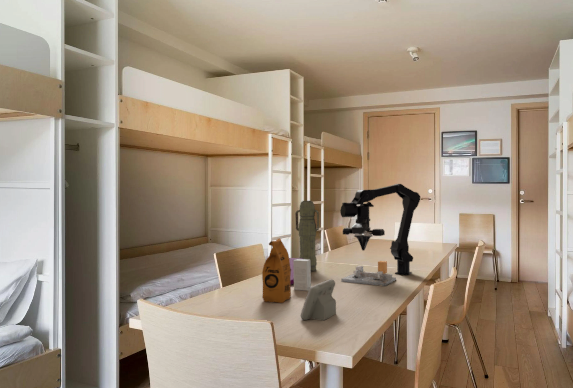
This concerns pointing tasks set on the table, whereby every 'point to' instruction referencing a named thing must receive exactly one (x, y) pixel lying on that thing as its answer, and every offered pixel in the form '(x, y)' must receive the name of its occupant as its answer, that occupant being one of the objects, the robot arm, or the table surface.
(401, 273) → the robot arm
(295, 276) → the skincare box
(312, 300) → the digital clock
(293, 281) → the purple package
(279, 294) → the coffee package
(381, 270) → the slider
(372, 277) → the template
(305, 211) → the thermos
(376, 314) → the table surface
